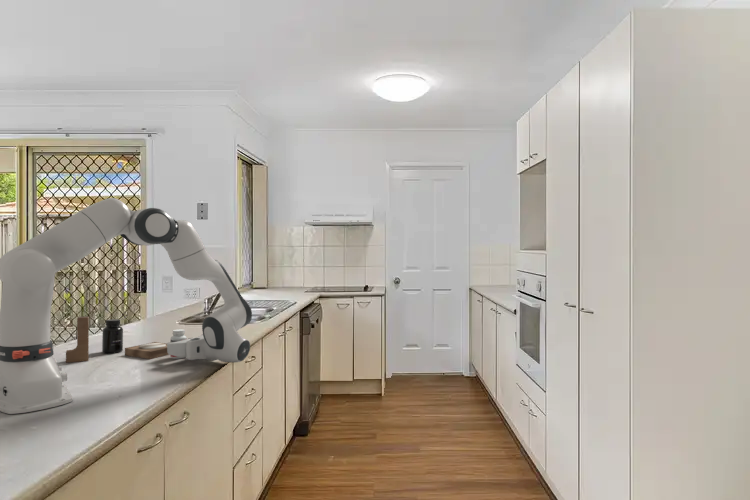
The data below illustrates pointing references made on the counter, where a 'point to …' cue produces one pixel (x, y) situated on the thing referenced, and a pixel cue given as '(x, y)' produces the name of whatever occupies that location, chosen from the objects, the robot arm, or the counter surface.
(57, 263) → the robot arm
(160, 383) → the counter surface
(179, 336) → the pill bottle
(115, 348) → the supplement bottle
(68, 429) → the counter surface
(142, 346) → the walnut base
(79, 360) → the wooden block
